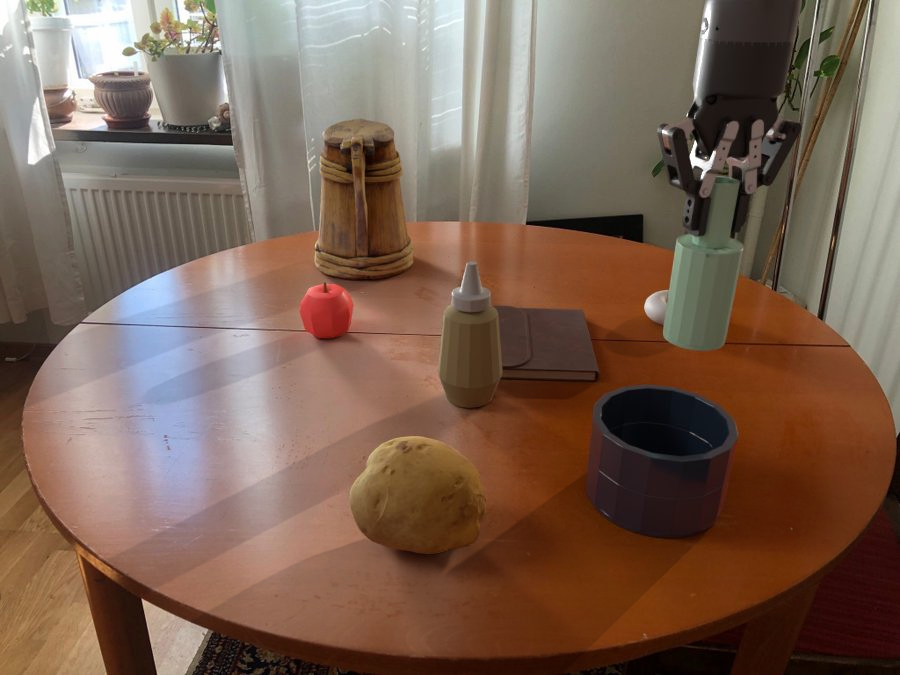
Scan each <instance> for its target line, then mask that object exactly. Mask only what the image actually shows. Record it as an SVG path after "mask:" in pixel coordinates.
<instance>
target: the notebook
mask: <svg viewBox="0 0 900 675" xmlns="http://www.w3.org/2000/svg"><path fill="white" fill-rule="evenodd" d="M492 306H493V307H494V308H495V309H496V310H497V312H498V318H499V331H500V344H501V357H502V370H503V373H502V376H501V378H500V380H526V381H527V380H528V381H530V380H531V381H558V382H559V381H560V382H561V381H562V382H563V381H566V382H593V383H594V382H598V381H599V380H600V377H601V375H600V370H599V366H598V363H597V359H596V354H595V351H594V346H593V342H592V339H591V334H590V331H589V326H588V323H587V319H586V316H585V315H586V314H585V312H584V310H583V309H582V308H581V309H577V308H572V309H571V308H546V307H545V308H544V307H543V308H541V307H540V308H538V307H517V306H516V307H515V306H512V305H511V306H510V305H492Z"/></svg>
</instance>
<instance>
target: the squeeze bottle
mask: <svg viewBox="0 0 900 675" xmlns="http://www.w3.org/2000/svg"><path fill="white" fill-rule="evenodd" d="M464 268H465V269H464V272H463V277H462V281H461V286H457V287H456V288H454V289H453V290H451V304H450V305H448V306H447V307H446V308H445V309H444V310H443V317H442V327H441V336H440V337H441V338H440V345H439V355H438V363H437V364H438V365H437V366H438V367H437V374H438V378H439V380H440V383H441V386H442V388H443V391H444V394H445V396H446V398H447V400H448V402H450V403H451V404H453V405H455V406H457V407H460V408H468V409H471V408H479V407H483V406H486V405H488V404H489V403H490V402H492V400H493V398H494V396H495V393H496V391H497V388H498V386H499V384H500V380H501V379H500V378H501V376H502V373H503V370H502V357H501V344H500V331H499V318H498V312H497V310H496V309H495V308H494V307H493V306H494V305H492V292H491V290H490V289H488V288H487V287H485V286H483V285H482V281H481V277H480V273H479V268H478V263H477V262H476V261H467V262H466V264H465V267H464Z"/></svg>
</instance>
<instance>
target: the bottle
mask: <svg viewBox="0 0 900 675" xmlns="http://www.w3.org/2000/svg"><path fill="white" fill-rule="evenodd" d="M739 184H740V182H739V180H737V179H734V178H730V177H729V176H725V175H717V176H716V179H715V182H714V185H713V188H712V191H711V194H710V195H709V196H708V197H710V198H711V202H710V208H709V214H708V220H707V226H706V231H705V235H704V236H698V237H695V236H693V235H691V234H689V233H685V234H681V235H679V236H678V237H677V238H676V242H675V248H674V254H673V255H674V256H673V260H672V261H673V262H672V268H671V274H670V281H669V288H668V290H669V293H668V300H667V307H666V313H665V320H664V326H663V325H662V327H663V330H662V336H663V338H664V339H665V340H666V341H667V342H668V343H670V344H671V345H673V346H676V347H678V348H681V349H684V350H688V351H695V352H696V351H697V352H709V351H710V352H711V351H716V350H718V349H721V348H722V347H723V346H724V345H725V343H726V340H727V337H728V336H727V335H728V333H729V332H728V331H729V327H730V326H729V325H730V320H731V317H732V310H733V306H734V302H735V301H734V300H735V296H736V290H737V287H738V286H737V285H738V280H739V275H740V271H741V270H740V269H741V266H742V260H743V254H744V250H745V247H744V244H743V243H742V242H741V241H739V240H737V239H735V238H733V237H731V234H732V233H731V227H732V222H733V217H734V211H735V206H736V200H737V195H738V190H739Z"/></svg>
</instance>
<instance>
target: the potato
mask: <svg viewBox="0 0 900 675" xmlns="http://www.w3.org/2000/svg"><path fill="white" fill-rule="evenodd" d="M485 494H486V493H485V490H484V484H483V480H482V478H481V475H480V473H479V472H478V470H477V468H476V467H475V466H474V464H473V463H472V462H471V461H470V460H469V459H468V458H467V457H466V456H464V455H463V454H462V453H460V452H459V451H457V450H456V449H455V448H454V447H452V446H450V445H448V444H447V443H445V442H442V441H440V440H439V439H438V440H437V439H434V438H430V437H426V436H420V435H415V436H414V435H413V436H410V435H409V436H400V437H395V438H392V439H390V440H387V441H385V442H383V443H380V444H379V445H378V446H377V447H376V448H375V449H373V451H372V452H371V453H370V454H369V456H368V458H367V460H366V462H365V469H364V470H363V472H362V473H361V474H360V475H359V476H358V477H356V478H355V481H354V482H353V484H352V485H351V488H350V490H349V494H348V495H349V496H348V497H349V506H350V510H351V515H352V516H353V519H354V522H355V524H356V526H357V528H358V530H359V531H360V532H361V534H362V535H363V536H365V537H366V538H367V539H368V540H370V541H371V542H372V543H373V542H374V543H375V544H377V545H381V546H384V547H387V548H391V549H395V550H399V551H400V550H401V551H407V552H413V553H417V554H425V555H433V554H439V553H444V552H449V551H453V550H455V549H459V548H468V547H469V546H470V545H472V544H476V542H477V541H478V538H479V535H480V531H481V530H480V529H481V523H482V521H483V520H484V518H485V517H486V516H485V515H486V513H487V506H486V501H487V500H486V499H487V498H486V495H485Z"/></svg>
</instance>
